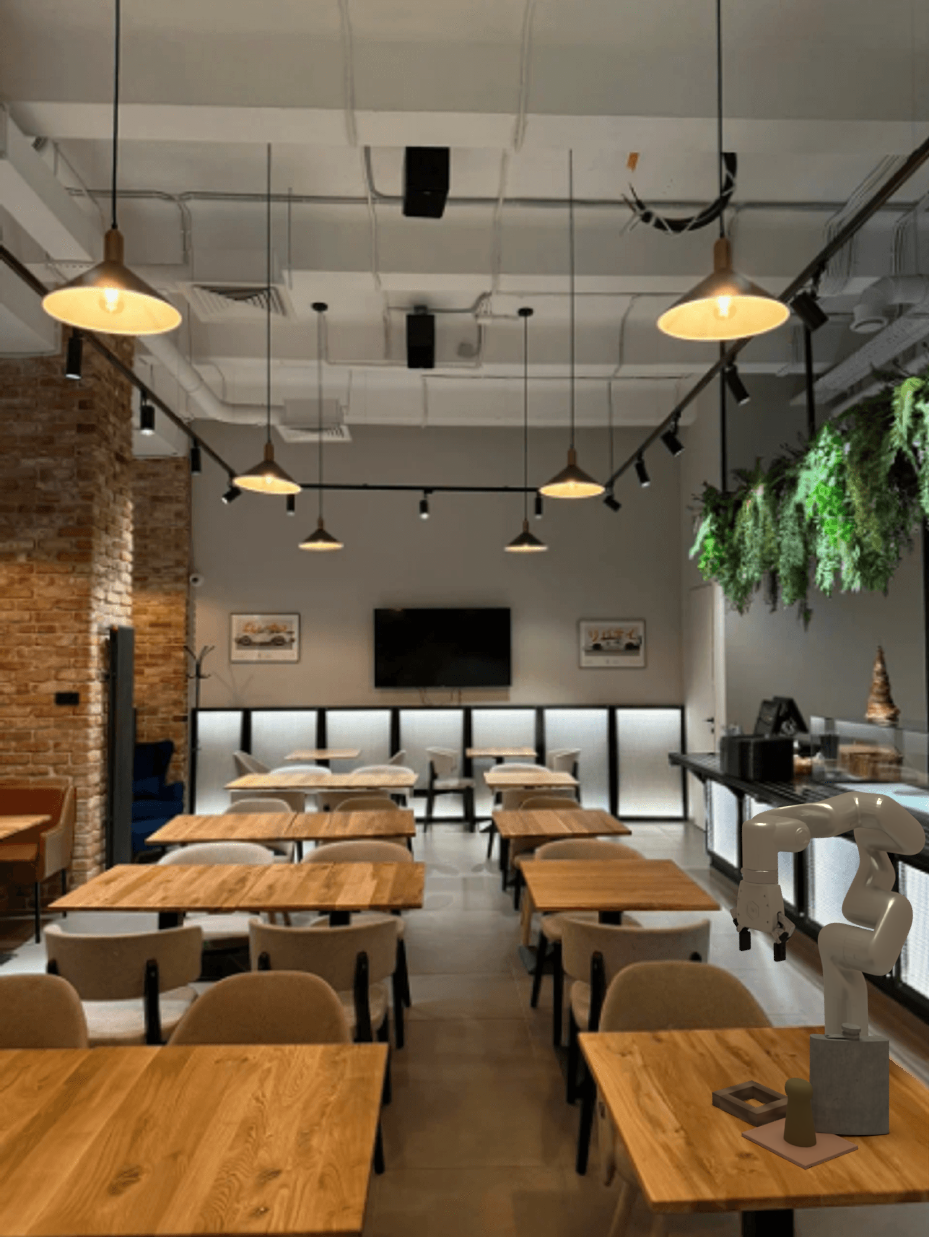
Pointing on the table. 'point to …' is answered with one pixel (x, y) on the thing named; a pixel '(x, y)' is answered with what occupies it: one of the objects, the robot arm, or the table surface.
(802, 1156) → the terracotta tile
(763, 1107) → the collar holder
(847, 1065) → the hip flask
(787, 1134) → the olive pawn shape
